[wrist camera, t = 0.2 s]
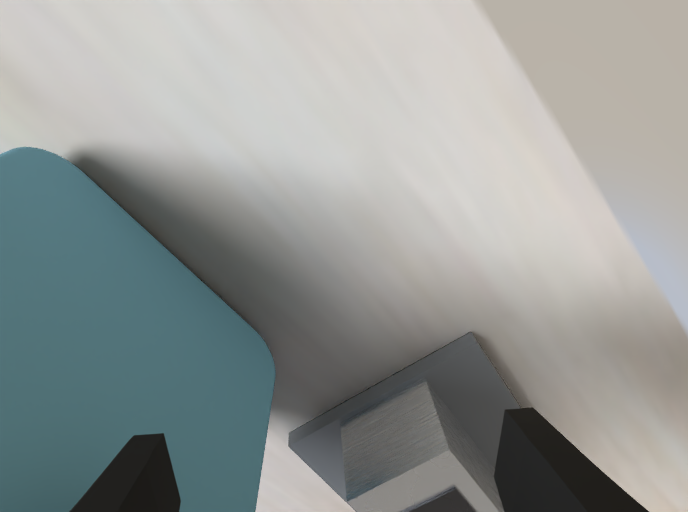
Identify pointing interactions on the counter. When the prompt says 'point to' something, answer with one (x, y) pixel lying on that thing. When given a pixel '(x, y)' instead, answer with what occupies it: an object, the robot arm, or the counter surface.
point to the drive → (415, 458)
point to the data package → (115, 351)
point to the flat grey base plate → (438, 368)
